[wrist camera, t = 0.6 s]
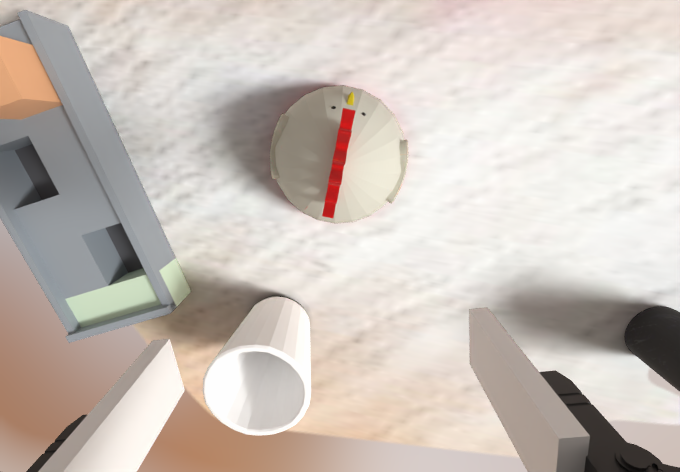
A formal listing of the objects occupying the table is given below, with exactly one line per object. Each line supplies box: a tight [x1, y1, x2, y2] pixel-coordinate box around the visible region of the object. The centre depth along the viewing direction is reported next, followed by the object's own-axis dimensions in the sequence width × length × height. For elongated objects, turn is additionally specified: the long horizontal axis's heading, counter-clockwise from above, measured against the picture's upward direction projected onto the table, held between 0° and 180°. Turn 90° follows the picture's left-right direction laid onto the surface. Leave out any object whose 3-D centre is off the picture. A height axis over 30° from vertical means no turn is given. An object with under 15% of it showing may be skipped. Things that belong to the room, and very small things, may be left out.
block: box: [0, 36, 63, 120], centre depth 31 cm, size 5×5×5 cm
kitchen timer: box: [270, 85, 408, 223], centre depth 32 cm, size 14×14×15 cm
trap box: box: [0, 10, 191, 343], centre depth 38 cm, size 30×12×6 cm, turn 17°
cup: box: [203, 296, 311, 435], centre depth 39 cm, size 10×10×13 cm
